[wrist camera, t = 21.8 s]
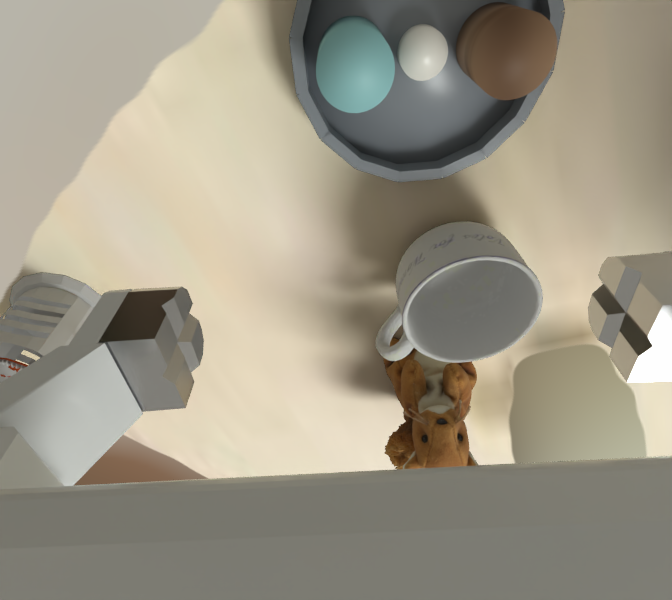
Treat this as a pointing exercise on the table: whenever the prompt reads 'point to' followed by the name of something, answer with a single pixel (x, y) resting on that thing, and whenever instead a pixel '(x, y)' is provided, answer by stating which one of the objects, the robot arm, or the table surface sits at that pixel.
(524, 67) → the walnut bead
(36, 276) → the french press
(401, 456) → the stuffed squirrel
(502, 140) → the groove tray
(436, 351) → the teacup
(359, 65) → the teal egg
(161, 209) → the table surface
